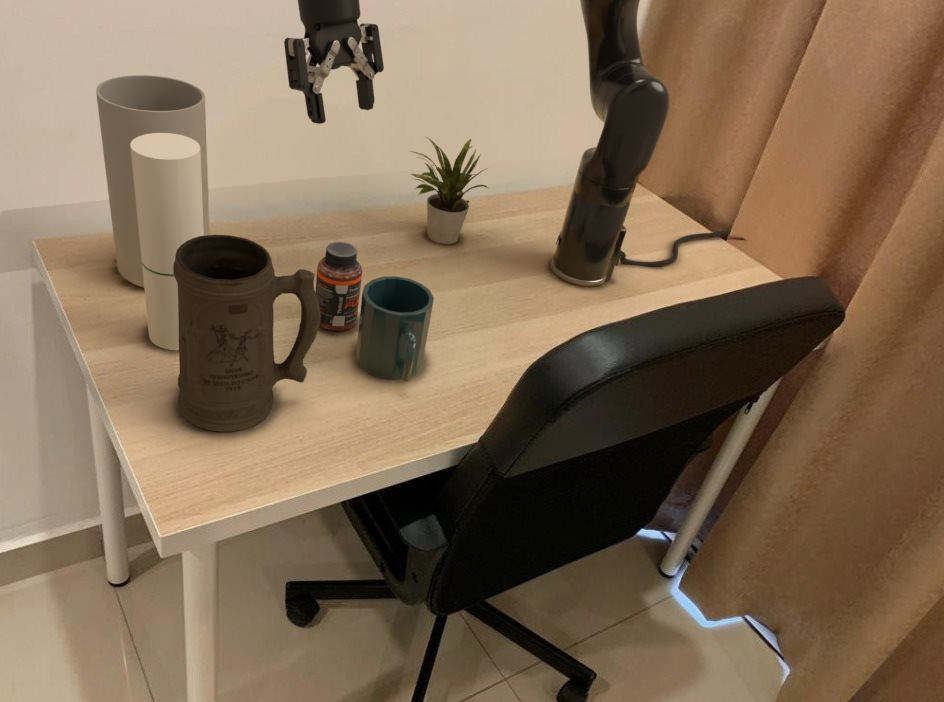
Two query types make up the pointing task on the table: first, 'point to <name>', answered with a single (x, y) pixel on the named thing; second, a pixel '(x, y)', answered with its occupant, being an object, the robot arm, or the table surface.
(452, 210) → the house plant
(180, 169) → the cylindrical container
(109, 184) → the cylinder vase
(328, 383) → the table surface
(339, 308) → the supplement bottle
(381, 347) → the mug
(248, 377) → the beer stein
